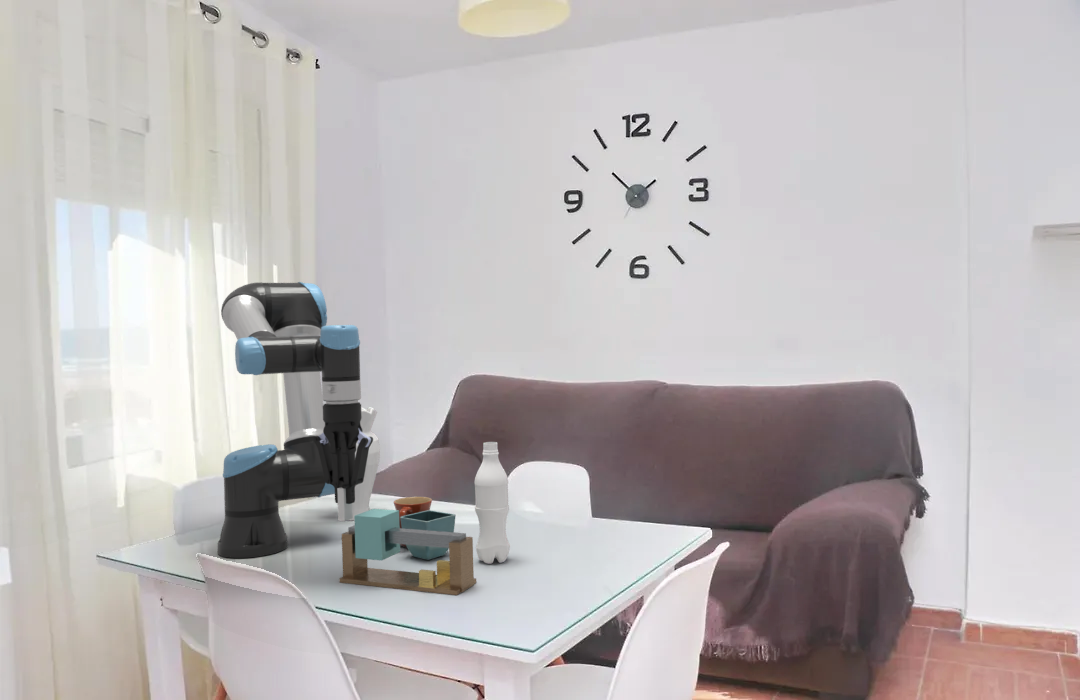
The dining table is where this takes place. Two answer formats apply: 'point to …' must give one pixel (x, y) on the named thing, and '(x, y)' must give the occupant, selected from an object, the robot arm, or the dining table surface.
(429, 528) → the flower pot
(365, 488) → the vase
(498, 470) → the water bottle
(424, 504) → the mug
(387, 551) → the block
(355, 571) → the rail
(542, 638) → the dining table surface
